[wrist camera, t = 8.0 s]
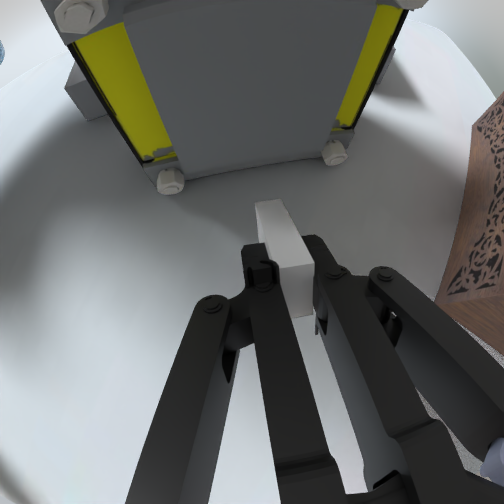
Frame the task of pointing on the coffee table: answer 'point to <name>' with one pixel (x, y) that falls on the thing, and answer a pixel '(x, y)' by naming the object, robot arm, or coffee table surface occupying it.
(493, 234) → the tissue box cover
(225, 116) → the electrical component
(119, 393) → the coffee table surface
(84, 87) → the block
